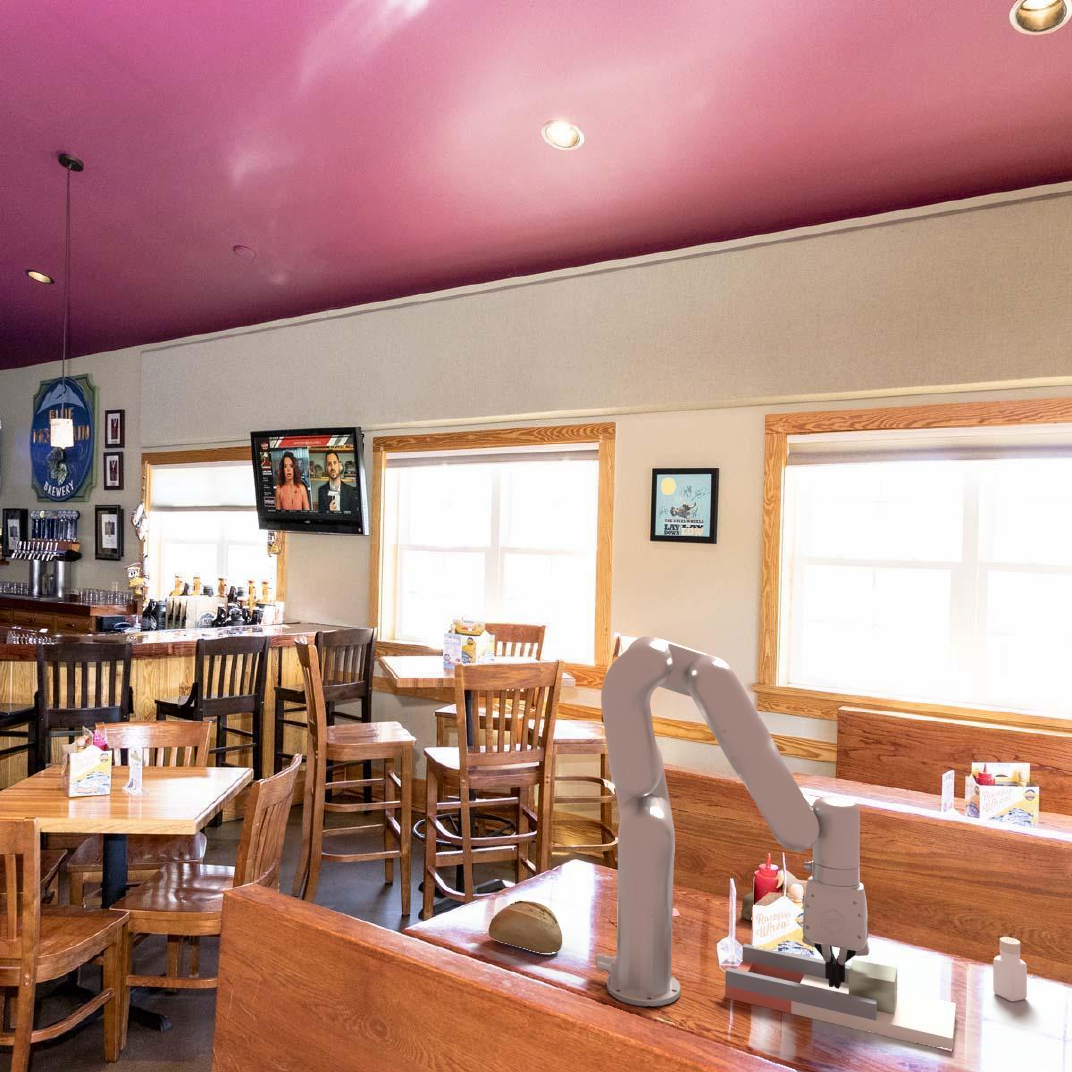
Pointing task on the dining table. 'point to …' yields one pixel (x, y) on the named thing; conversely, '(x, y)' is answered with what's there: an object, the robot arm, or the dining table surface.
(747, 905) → the stone block
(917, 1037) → the track
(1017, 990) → the salt shaker
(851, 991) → the sage block
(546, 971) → the dining table surface
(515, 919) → the bread roll
